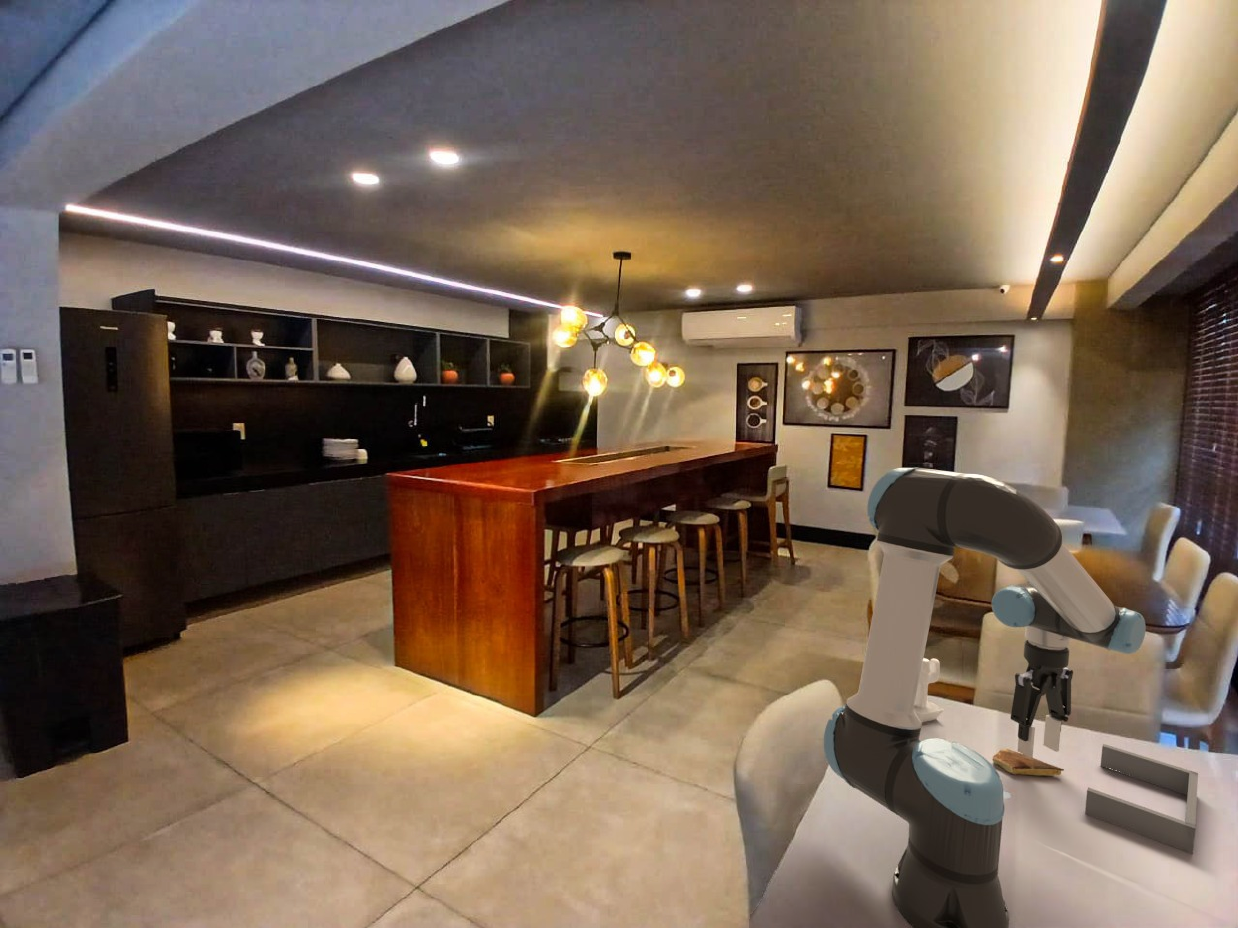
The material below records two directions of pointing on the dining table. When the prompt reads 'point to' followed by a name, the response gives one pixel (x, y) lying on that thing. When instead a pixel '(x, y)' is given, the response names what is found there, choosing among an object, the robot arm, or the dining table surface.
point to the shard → (1023, 764)
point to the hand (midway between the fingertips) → (1038, 750)
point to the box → (1139, 816)
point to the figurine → (922, 706)
